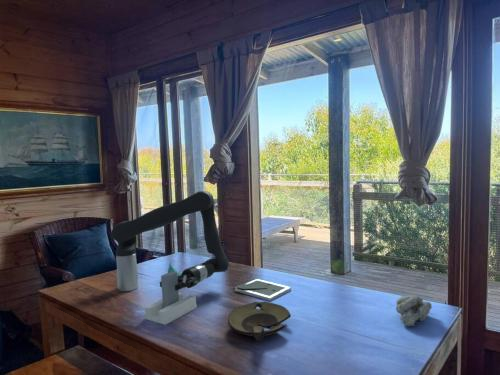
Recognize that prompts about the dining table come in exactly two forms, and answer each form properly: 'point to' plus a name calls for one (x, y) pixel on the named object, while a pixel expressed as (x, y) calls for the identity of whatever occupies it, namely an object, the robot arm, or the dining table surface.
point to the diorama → (173, 269)
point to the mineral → (412, 309)
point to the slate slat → (169, 288)
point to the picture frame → (263, 289)
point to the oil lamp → (258, 319)
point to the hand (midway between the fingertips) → (167, 286)
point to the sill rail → (170, 309)
